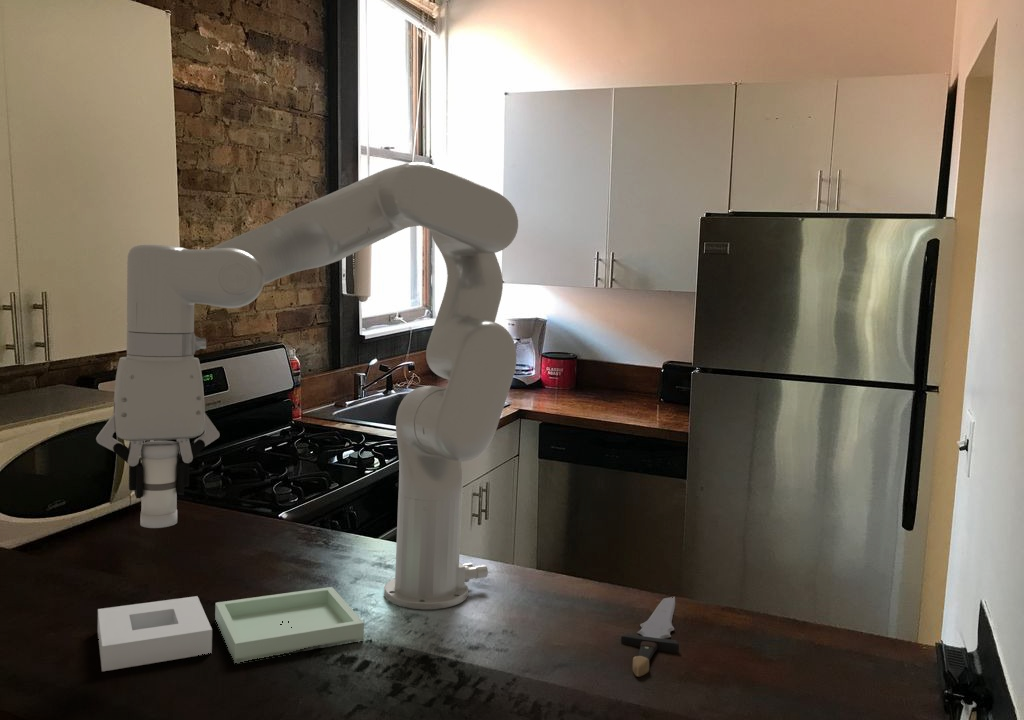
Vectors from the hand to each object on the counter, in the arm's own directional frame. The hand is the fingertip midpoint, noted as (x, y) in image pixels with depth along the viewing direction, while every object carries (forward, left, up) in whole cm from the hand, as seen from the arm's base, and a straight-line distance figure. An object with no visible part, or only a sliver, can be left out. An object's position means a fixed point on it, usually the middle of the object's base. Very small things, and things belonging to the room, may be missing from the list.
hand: (159, 492), depth 99 cm
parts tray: (-16, +3, -19) cm, 25 cm away
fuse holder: (0, 0, -19) cm, 19 cm away
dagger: (-62, +22, -20) cm, 69 cm away
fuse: (0, 0, -4) cm, 4 cm away
